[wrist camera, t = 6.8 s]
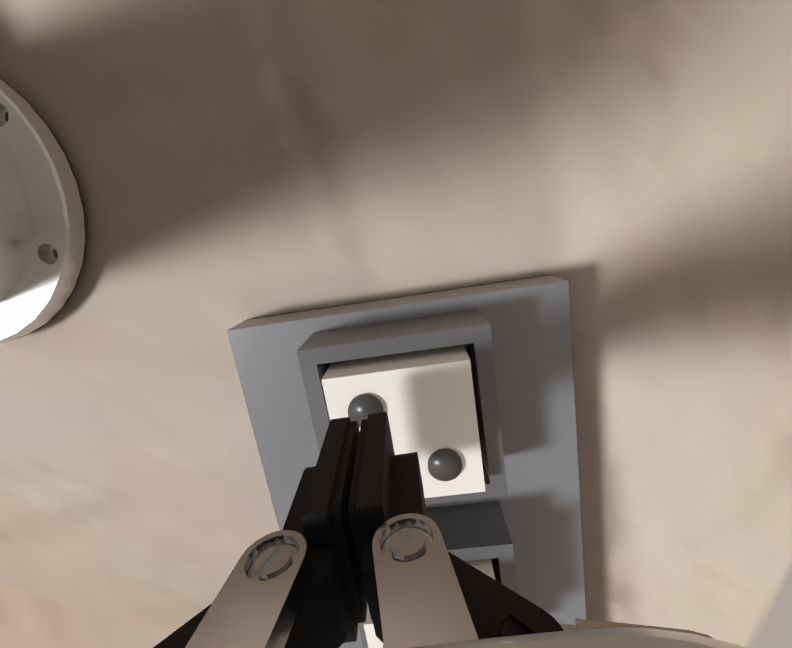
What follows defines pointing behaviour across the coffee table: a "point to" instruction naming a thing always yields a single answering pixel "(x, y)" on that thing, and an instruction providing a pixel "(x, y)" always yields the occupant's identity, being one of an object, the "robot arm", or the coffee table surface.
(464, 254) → the coffee table surface
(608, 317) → the coffee table surface
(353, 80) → the coffee table surface
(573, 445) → the key board
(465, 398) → the two-dot tile
